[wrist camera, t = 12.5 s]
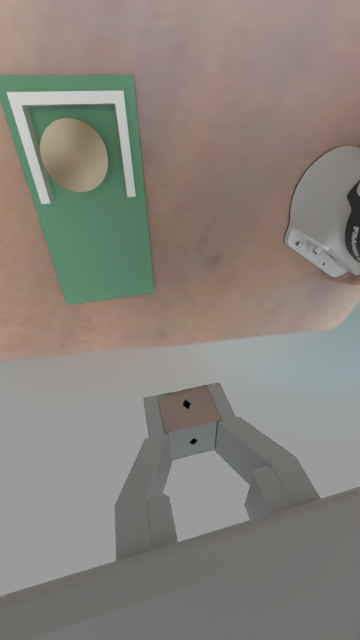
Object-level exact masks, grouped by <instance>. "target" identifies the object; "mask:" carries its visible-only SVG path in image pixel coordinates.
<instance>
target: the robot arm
mask: <svg viewBox="0 0 360 640" xmlns="http://www.w3.org/2000/svg"><path fill="white" fill-rule="evenodd" d="M297 241H298V242H297ZM296 242H297V243H296ZM284 243H285V245H287V246H288V247H289V248H291V249H292V250H294V251H295V252H296V253H298V254H299V255H301V256H302V257H304V258H305V259H306V260H308V261H309V262H311V263H312V264H313V265H315V266H316V267H318V268H319V269H320V270H322V271H323V272H325V273H326V274H328V275H329V276H331V277H337V276H340V275H343V274H345V273H347V272H350V273H352V274H354V275H360V148H359V147H355V146H342V147H339V148H336V149H333V150H331V151H329V152H327V153H326V154H324V155H323V156H321V157H320V158H319V159H318V160H317V161H315V162H314V163H313V164H312V165H311V167H310V168H309V169H308V170H307V171H306V173H305V174H304V176H303V177H302V179H301V180H300V182H299V184H298V186H297V188H296V190H295V193H294V196H293V199H292V203H291V209H290V224H289V227H288V230H287V232H286V235H285V239H284ZM295 243H296V244H295ZM144 407H145V414H146V421H147V427H148V434H149V438H146V439H145V440H144V442H143V444H142V447H141V449H140V451H139V453H138V455H137V458H136V460H135V462H134V464H133V466H132V469H131V471H130V473H129V475H128V478H127V480H126V482H125V484H124V486H123V488H122V491H121V493H120V495H119V497H118V500H117V502H116V504H115V531H116V561H114V562H111V563H107V564H104V565H101V566H98V567H94V568H91V569H88V570H84V571H81V572H78V573H75V574H71V575H68V576H65V577H62V578H58V579H55V580H52V581H48V582H45V583H42V584H38V585H35V586H32V587H29V588H25V589H22V590H19V591H15V592H12V593H9V594H6V595H3V596H0V640H360V487H357V488H354V489H351V490H348V491H344V492H341V493H338V494H335V495H331V496H328V497H324V498H320V496H319V495H318V493H317V491H316V490H315V488H314V486H313V485H312V483H311V481H310V480H309V478H308V476H307V474H306V473H305V471H304V469H303V468H302V466H301V464H300V463H299V461H298V459H297V458H296V457H295V456H294V455H293V454H291V453H290V452H288V451H287V450H286V449H284V448H283V447H281V446H280V445H278V444H277V443H276V442H274V441H273V440H271V439H270V438H269V437H267V436H266V435H264V434H263V433H262V432H260V431H259V430H257V429H256V428H255V427H253V426H252V425H250V424H249V423H248V422H246V421H245V420H243V419H242V418H241V417H235V414H234V412H233V410H232V408H231V406H230V404H229V402H228V400H227V397H226V395H225V393H224V391H223V389H222V387H221V385H220V384H219V383H214V384H209V385H203V386H199V387H194V388H190V389H185V390H182V391H178V392H172V393H167V394H161V395H157V396H151V397H146V398H144ZM213 450H215V451H216V452H217V453H218V454H219V455H220V456H221V457H222V458H223V459H224V460H225V461H226V462H227V463H228V464H229V465H230V466H231V467H232V468H233V469H234V470H235V471H236V472H237V473H238V474H239V475H240V476H241V477H242V478H243V479H244V480H245V481H246V482H247V483H248V484H249V485H250V488H249V491H248V495H247V498H246V502H245V507H246V510H247V513H248V516H249V518H250V520H249V521H245V522H242V523H239V524H236V525H232V526H229V527H226V528H223V529H219V530H216V531H213V532H209V533H206V534H203V535H200V536H196V537H193V538H190V539H186V540H183V541H180V542H178V541H177V535H176V530H175V525H174V519H173V514H172V509H171V504H170V499H169V497H168V496H167V495H165V494H163V490H164V487H165V484H166V481H167V477H168V474H169V471H170V467H171V464H172V461H173V460H176V459H180V458H183V457H187V456H190V455H194V454H199V453H203V452H208V451H213Z"/></svg>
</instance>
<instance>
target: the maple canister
mask: <svg viewBox="0 0 360 640" xmlns="http://www.w3.org/2000/svg"><path fill="white" fill-rule="evenodd" d="M40 154H41V158H42V162H43V165H44V167H45V169H46V170H47V172H48V174H49V175H50V176H51V177H52V179H53V180H54V181H55V182H57V183H58V184H59V185H61V186H62V187H64V188H66V189H68V190H70V191H74V192H87V191H90V190H93V189H95V188H96V187H97V186H99V185H100V184H101V182H102V181H103V179H104V178H105V175H106V173H107V168H108V156H107V150H106V146H105V143H104V141H103V139H102V137H101V135H100V134H99V133H98V132H97V131H96V129H94V128H93V127H92V126H90V125H89V124H87V123H85V122H82V121H80V120H77V119H72V118H62V119H58V120H56V121H54V122H52V123H51V124H50V125H49V126H48V127H47V128H46V129H45V131H44V133H43V135H42V138H41V142H40Z"/></svg>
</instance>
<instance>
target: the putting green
mask: <svg viewBox="0 0 360 640" xmlns="http://www.w3.org/2000/svg"><path fill="white" fill-rule="evenodd" d="M0 100H1V103H2V106H3V109H4V112H5V115H6V119H7V122H8V125H9V128H10V131H11V134H12V137H13V140H14V143H15V146H16V149H17V152H18V155H19V158H20V161H21V164H22V167H23V171H24V174H25V177H26V180H27V183H28V186H29V189H30V192H31V195H32V198H33V201H34V204H35V207H36V210H37V213H38V216H39V220H40V223H41V226H42V229H43V232H44V235H45V238H46V241H47V244H48V247H49V250H50V253H51V256H52V259H53V262H54V265H55V269H56V272H57V275H58V278H59V281H60V284H61V287H62V290H63V293H64V296H65V299H66V302H67V305H70V304H77V303H84V302H91V301H98V300H105V299H112V298H120V297H127V296H134V295H141V294H148V293H155V290H154V280H153V269H152V259H151V249H150V238H149V228H148V218H147V208H146V197H145V187H144V177H143V166H142V156H141V146H140V136H139V125H138V115H137V105H136V94H135V84H134V75H95V76H0ZM62 118H72V119H77V120H80V121H82V122H85V123H87V124H89V125H90V126H92V127H93V128H94V129H96V131H97V132H98V133H99V134H100V135H101V137H102V139H103V141H104V143H105V146H106V150H107V156H108V168H107V173H106V175H105V178H104V179H103V181H102V182H101V184H100V185H99V186H97V187H96V188H95V189H93V190H90V191H87V192H74V191H70V190H68V189H66V188H64V187H62V186H61V185H59V184H58V183H57V182H55V181H54V180H53V179H52V177H51V176H50V175H49V174H48V172H47V170H46V169H45V167H44V165H43V162H42V158H41V154H40V142H41V138H42V135H43V133H44V131H45V129H46V128H47V127H48V126H49V125H50V124H51V123H52V122H54V121H56V120H58V119H62Z"/></svg>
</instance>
